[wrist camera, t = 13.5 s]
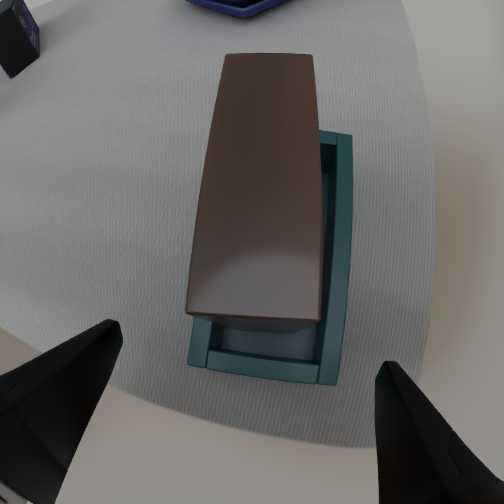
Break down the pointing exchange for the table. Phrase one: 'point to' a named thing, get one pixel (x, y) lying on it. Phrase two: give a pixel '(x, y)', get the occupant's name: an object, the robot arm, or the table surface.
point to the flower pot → (237, 6)
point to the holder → (332, 306)
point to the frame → (260, 199)
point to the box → (17, 36)
